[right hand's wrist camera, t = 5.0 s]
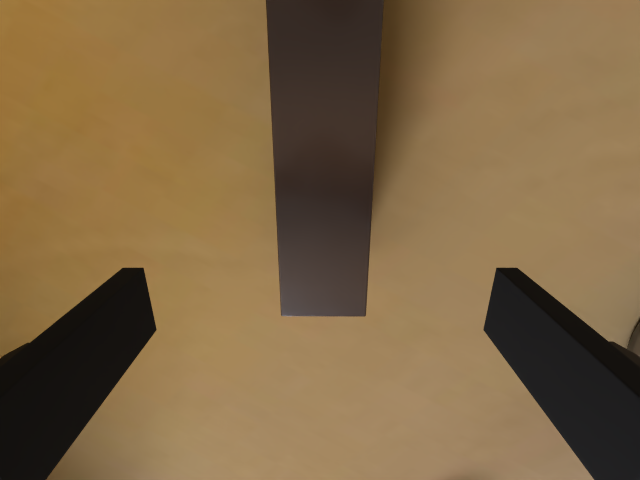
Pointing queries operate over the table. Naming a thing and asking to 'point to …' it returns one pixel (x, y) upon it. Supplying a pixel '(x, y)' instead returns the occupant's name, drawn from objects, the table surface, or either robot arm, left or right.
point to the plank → (324, 149)
